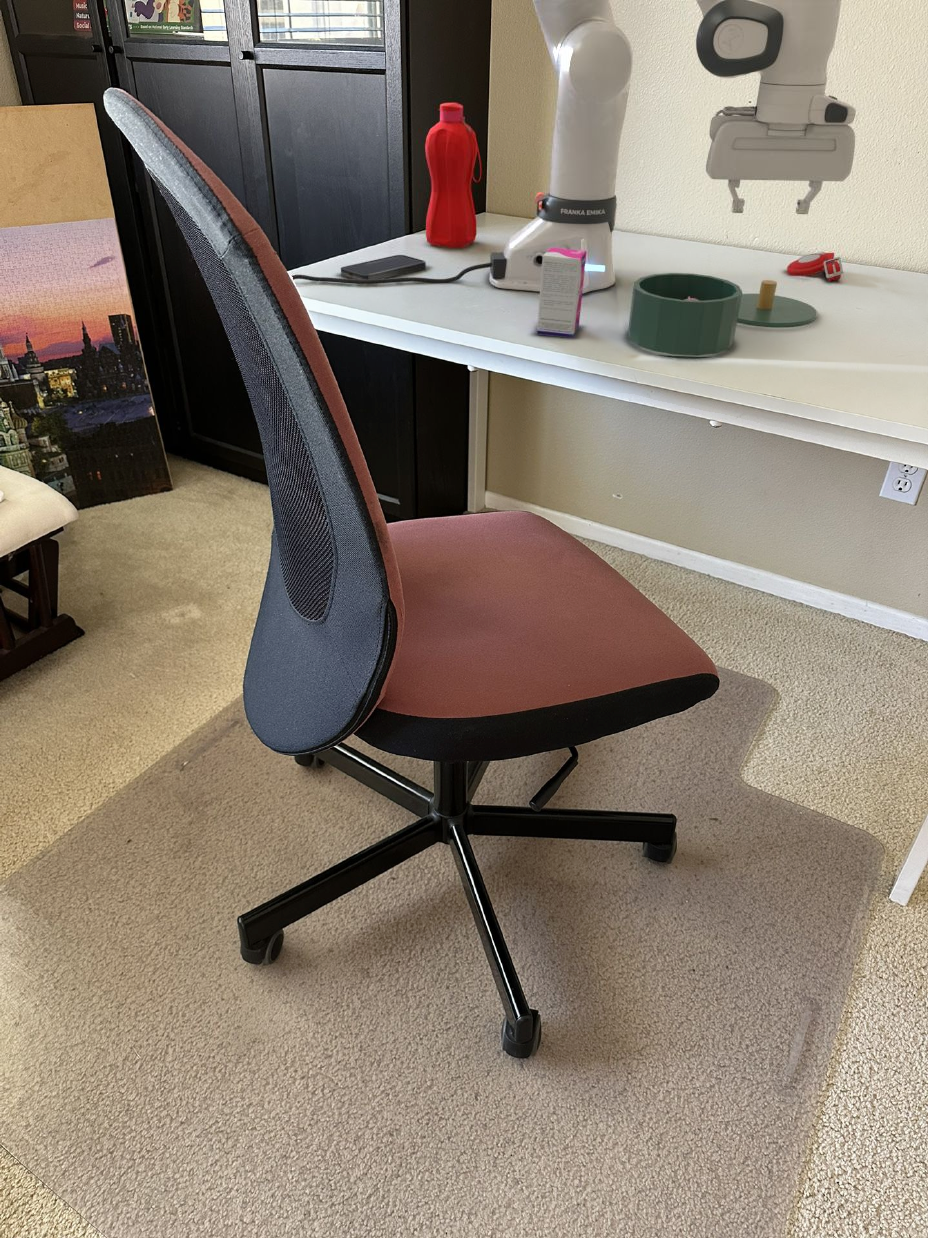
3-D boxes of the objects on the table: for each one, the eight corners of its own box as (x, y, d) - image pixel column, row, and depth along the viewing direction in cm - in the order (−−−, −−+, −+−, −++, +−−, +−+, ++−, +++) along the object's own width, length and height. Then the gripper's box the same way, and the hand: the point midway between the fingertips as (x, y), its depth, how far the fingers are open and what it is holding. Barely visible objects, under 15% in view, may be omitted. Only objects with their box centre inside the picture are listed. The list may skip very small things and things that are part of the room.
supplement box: (574, 338, 135) (580, 258, 128) (535, 334, 136) (540, 255, 130) (580, 326, 140) (587, 249, 133) (543, 323, 141) (547, 246, 134)
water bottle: (469, 252, 178) (471, 107, 163) (420, 245, 182) (418, 103, 167) (488, 242, 185) (492, 102, 170) (441, 236, 189) (440, 99, 174)
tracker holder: (775, 267, 166) (805, 245, 170) (779, 290, 168) (808, 268, 172) (837, 264, 157) (867, 241, 161) (839, 289, 159) (869, 265, 163)
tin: (631, 356, 129) (638, 299, 124) (625, 324, 141) (630, 271, 136) (739, 360, 128) (750, 303, 123) (723, 327, 140) (732, 274, 135)
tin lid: (719, 328, 140) (725, 294, 137) (705, 299, 153) (710, 267, 150) (826, 332, 138) (834, 298, 135) (802, 302, 152) (809, 270, 149)
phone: (428, 261, 167) (365, 275, 158) (428, 267, 167) (365, 282, 159) (400, 253, 171) (337, 267, 162) (400, 260, 172) (338, 273, 163)
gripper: (716, 108, 124) (700, 215, 132) (868, 109, 123) (843, 218, 131) (710, 103, 130) (696, 207, 138) (856, 104, 128) (833, 209, 136)
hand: (769, 212), depth 134 cm, fingers open, 8 cm apart
